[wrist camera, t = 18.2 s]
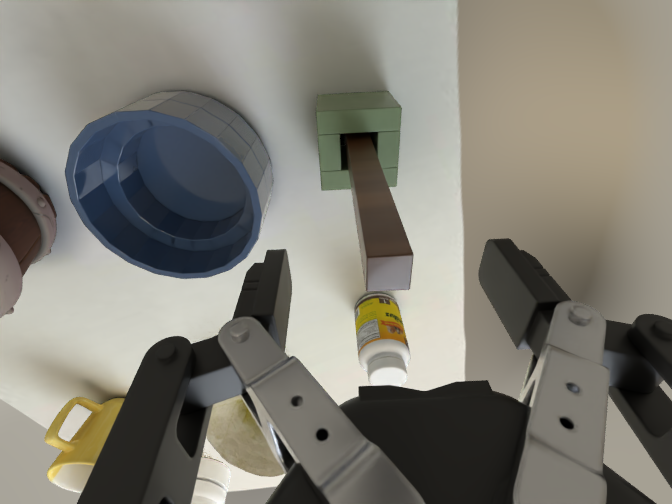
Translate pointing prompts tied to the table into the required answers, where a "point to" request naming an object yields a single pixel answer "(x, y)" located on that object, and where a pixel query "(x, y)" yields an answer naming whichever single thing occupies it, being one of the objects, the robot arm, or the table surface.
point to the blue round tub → (172, 184)
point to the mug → (80, 442)
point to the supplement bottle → (381, 340)
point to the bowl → (241, 439)
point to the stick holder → (356, 117)
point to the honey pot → (211, 482)
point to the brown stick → (377, 219)
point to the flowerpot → (21, 231)
